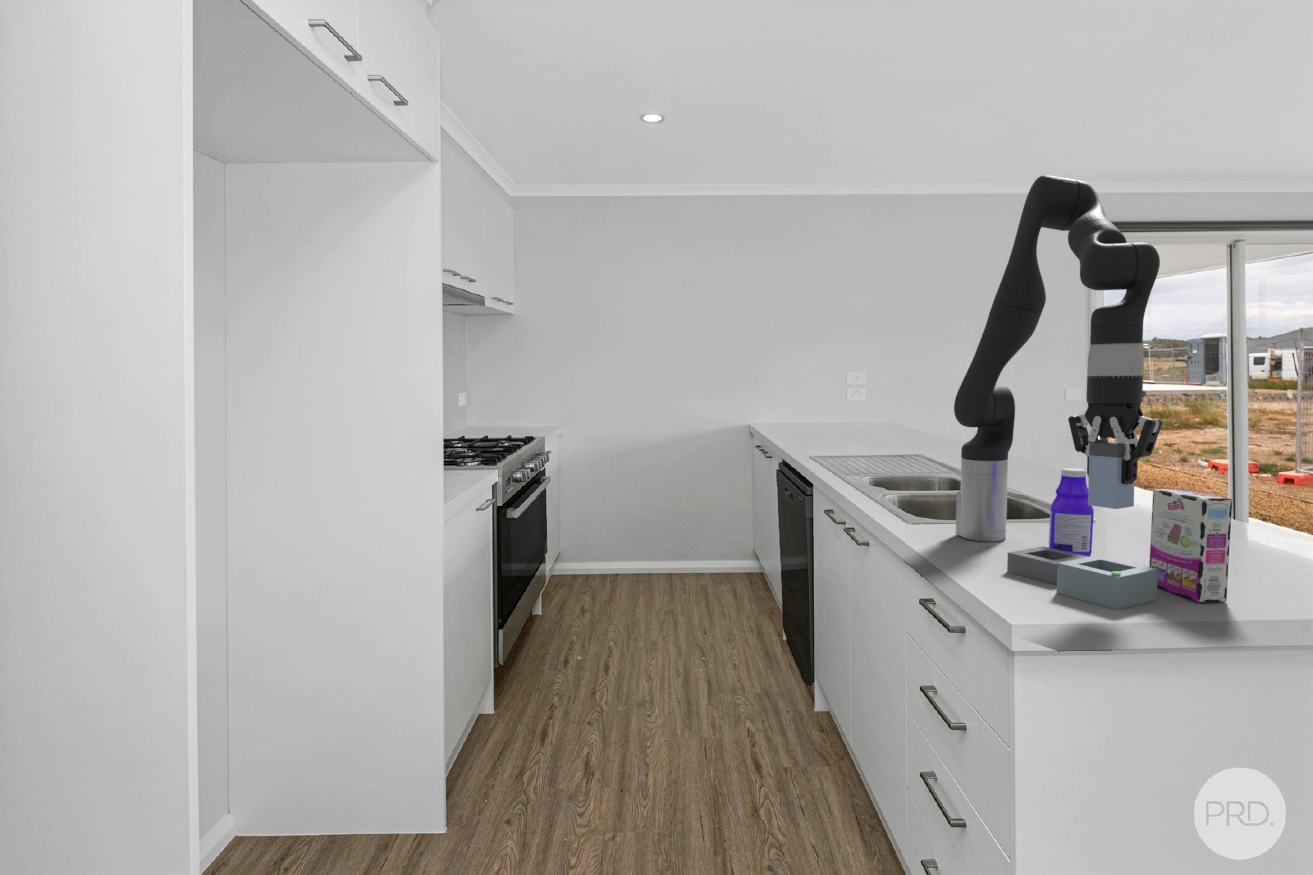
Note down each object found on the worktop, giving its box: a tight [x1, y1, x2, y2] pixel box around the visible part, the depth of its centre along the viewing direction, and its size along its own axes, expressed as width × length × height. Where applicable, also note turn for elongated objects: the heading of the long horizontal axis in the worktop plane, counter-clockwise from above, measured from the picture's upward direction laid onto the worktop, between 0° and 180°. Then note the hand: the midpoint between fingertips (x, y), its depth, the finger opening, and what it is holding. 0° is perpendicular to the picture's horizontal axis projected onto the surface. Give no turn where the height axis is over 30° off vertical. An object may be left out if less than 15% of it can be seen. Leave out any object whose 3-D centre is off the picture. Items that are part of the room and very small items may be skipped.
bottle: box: [1048, 467, 1095, 557], centre depth 145 cm, size 7×6×17 cm
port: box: [1056, 555, 1158, 611], centre depth 121 cm, size 10×10×5 cm
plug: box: [1088, 440, 1135, 510], centre depth 120 cm, size 4×4×10 cm
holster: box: [1006, 545, 1088, 585], centre depth 135 cm, size 10×10×4 cm
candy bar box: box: [1148, 488, 1233, 604], centre depth 122 cm, size 11×5×16 cm, turn 5°
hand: (1110, 481), depth 120 cm, fingers closed on plug, 4 cm apart
